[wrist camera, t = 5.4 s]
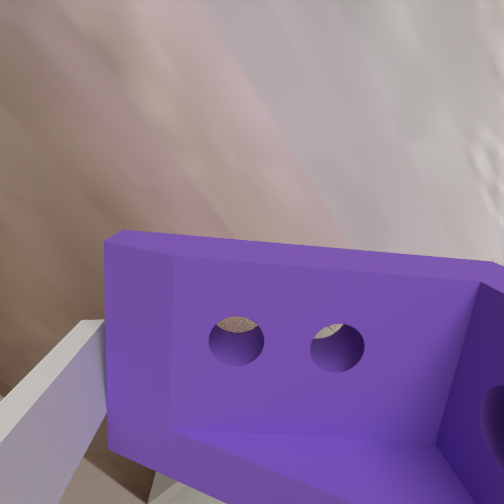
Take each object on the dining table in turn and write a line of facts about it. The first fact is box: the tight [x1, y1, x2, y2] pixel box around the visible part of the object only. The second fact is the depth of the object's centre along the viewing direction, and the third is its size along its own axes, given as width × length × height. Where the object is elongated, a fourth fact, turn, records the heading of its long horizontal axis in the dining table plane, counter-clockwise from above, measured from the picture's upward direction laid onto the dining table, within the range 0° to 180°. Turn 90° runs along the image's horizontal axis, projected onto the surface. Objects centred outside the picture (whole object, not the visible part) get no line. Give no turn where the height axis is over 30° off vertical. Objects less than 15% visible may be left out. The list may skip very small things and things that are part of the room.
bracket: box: [104, 230, 504, 504], centre depth 9 cm, size 12×7×7 cm, turn 85°
